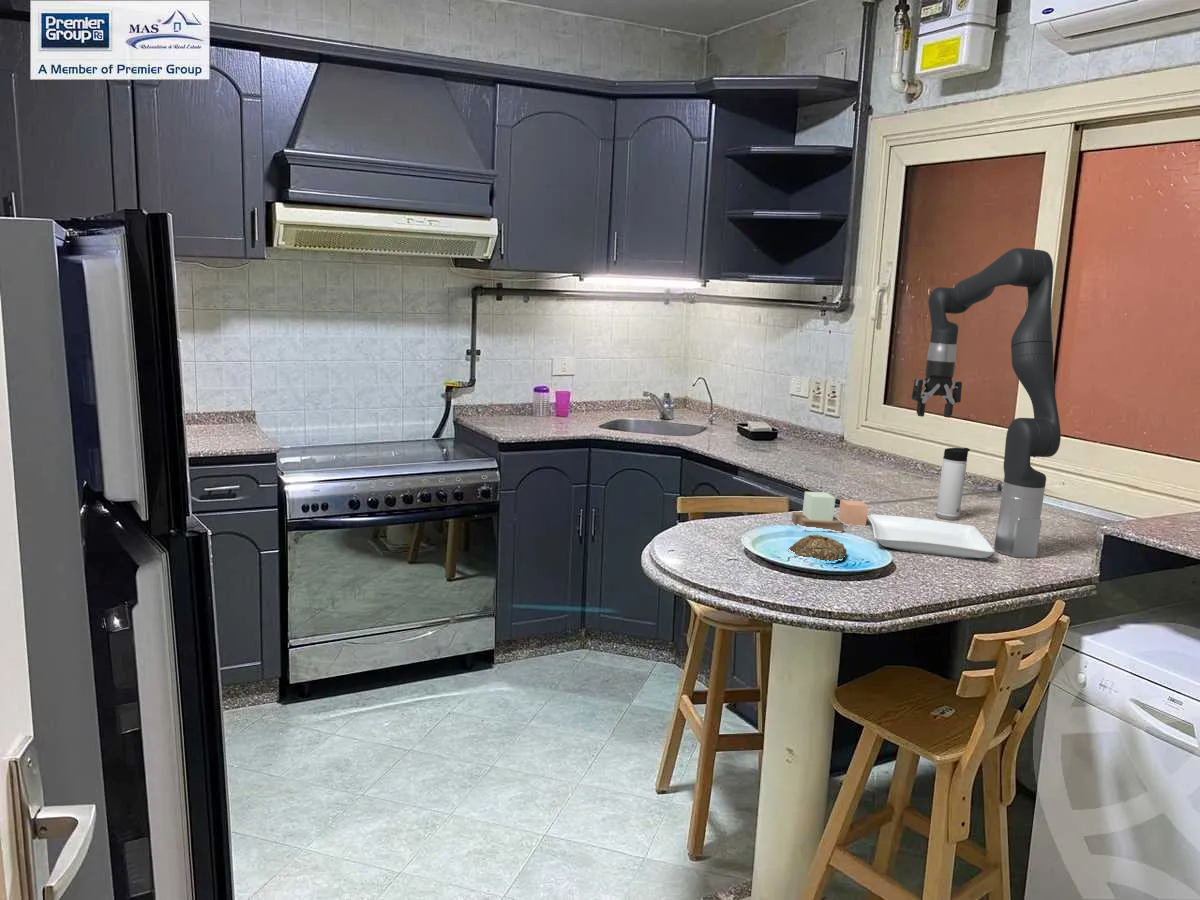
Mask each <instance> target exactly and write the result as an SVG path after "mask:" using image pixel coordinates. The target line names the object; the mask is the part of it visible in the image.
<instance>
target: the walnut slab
mask: <svg viewBox="0 0 1200 900" xmlns="http://www.w3.org/2000/svg"><path fill="white" fill-rule="evenodd" d="M791 513H792V515H791V522H792V523H795V524H794V525H796V524H799V525H802V526H806V527H816V528H823V529H831V530H835V531H842V532H843V528H844V523H842V522H841V521H839V520H838V518H837V517H835V516H834V515H833V521H825V520H810V519H808V518H807V517H806V516H804V515H803V514H802V513H803V511H802V512H801V511H792V512H791Z"/></svg>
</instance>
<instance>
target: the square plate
mask: <svg viewBox="0 0 1200 900" xmlns="http://www.w3.org/2000/svg"><path fill="white" fill-rule="evenodd" d="M867 519H868V520H869V521H870V524H871V527H872V531H873V537H874V538H875V539H876V540H877V542H878V543H879V544H880V545H882V546H883V547H884V548H890V549H893V550H896V551H897V550H898V551H902V552H909V551H910V552H911V553H919V554H927V555H935V556H936V555H937V556H945V557H952V558H962V559H972V558H975V559H984V558H988V557H990V556H992V555H993V554H995V553H996V551H995V550H994V547H993V546H992V545H991V544H990V543H989V541H988V540H987V539H986V537H985V536H984V535H983V534H982V532H981V531H980V530H979V529H978V528H977V527H976V526H973V525H970V524H969V525H968V524H961V523H960V524H959V523H954V522H947V521H941V520H935V519H927V518H920V517H919V518H918V517H912V516H911V517H909V516H901V515H900V516H899V515H888V514H887V515H886V514H877V513H876V514H873V513H867Z"/></svg>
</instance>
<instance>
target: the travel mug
mask: <svg viewBox="0 0 1200 900" xmlns="http://www.w3.org/2000/svg"><path fill="white" fill-rule="evenodd" d="M969 452H970V448H968V447H964V448H963V447H948V448H945V449H944V451H943V457H942V463H941V471H940V479H939V486H938V493H937V502H936V507H935V508H936V509H935V517H936V516H937V517H936V518H938V517H940V518H939V519H941V518H944V519H943V520H945V519H949V520H948V521H958V520H959V519H960V514H961V506H962V501H963V493H964V492H963V491H964V486H965V478H966V470H967V463H968V455H969Z"/></svg>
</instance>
